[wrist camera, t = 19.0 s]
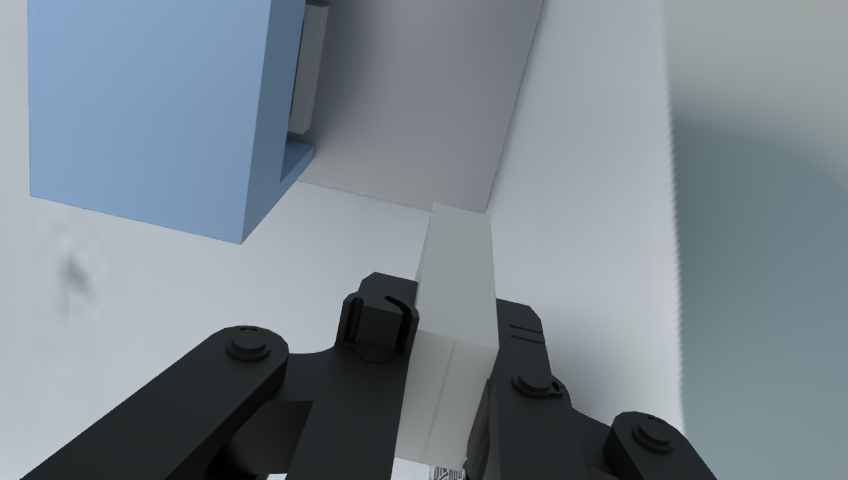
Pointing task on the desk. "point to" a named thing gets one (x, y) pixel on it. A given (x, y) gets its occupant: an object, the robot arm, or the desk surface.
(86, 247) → the desk surface
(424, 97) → the housing base
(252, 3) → the housing cover
